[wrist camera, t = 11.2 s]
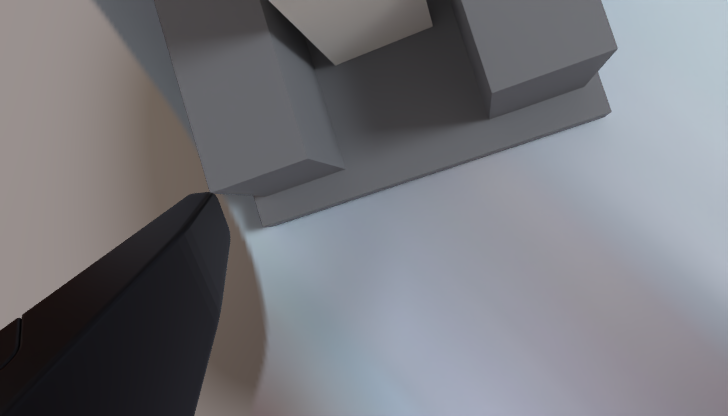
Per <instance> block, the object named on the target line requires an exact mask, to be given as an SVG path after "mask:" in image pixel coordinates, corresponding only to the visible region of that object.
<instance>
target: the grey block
mask: <svg viewBox="0 0 728 416" xmlns="http://www.w3.org/2000/svg"><path fill="white" fill-rule="evenodd" d="M269 1H270V2H271V3H272V4H273V5H274V6H275V7H276V8H277V9H278V10H279V11H280V12H281V13H282V14H283V15H284V16H285V17H286V18H287V19H288V20H289V21H290V22H291V23H292V24H293V25H294V26H295V27H296V28H297V29H298V30H299V31H301V32H302V33H303V34H304V35H305V36H306V37H307V38H308V39H309V40H310V41H311V42H312V43H313V44H314V45H315V46H316V47H317V48H318V49H319V50H320V51H321V52H322V53H323V54H324V55H325V56H326V57H327V58H328V59H329V60H330V61H331V62H332V63H333V64H334V65H338V64H340V63H343V62H345V61H348V60H350V59H353V58H355V57H358V56H360V55H363V54H365V53H368V52H370V51H373V50H375V49H378V48H380V47H383V46H385V45H388V44H390V43H393V42H395V41H398V40H400V39H403V38H405V37H408V36H410V35H413V34H415V33H418V32H420V31H423V30H425V29H428V28H430V27H433V25H432V21H431V17H430V13H429V9H428V6H427V2H426V0H269Z"/></svg>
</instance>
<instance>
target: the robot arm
mask: <svg viewBox="0 0 728 416" xmlns="http://www.w3.org/2000/svg"><path fill="white" fill-rule="evenodd" d="M229 247H230V231H229V227H228V225H227V222H226V219H225V217H224V214H223V211H222V209H221V206H220V203H219V201H218V198H217V197H216V195H215V194H213V193H212V192H205V193H195V194H190V195H188V196H187V197H185V198H184V199H183V200H181V201H180V202H178V203H177V204H176V205H174V206H173V207H172V208H170V209H169V210H167V211H166V212H164V213H163V214H162V215H160V216H159V217H157V218H156V219H155V220H153V221H152V222H150V223H149V224H148V225H146V226H145V227H144V228H142V229H141V230H140V231H138V232H137V233H135V234H134V235H132V236H131V237H130V238H128V239H127V240H125V241H124V242H123V243H121V244H120V245H119V246H117V247H116V248H115V249H113V250H112V251H110V252H109V253H107V254H106V255H105V256H103V257H102V258H100V259H99V260H98V261H96V262H95V263H93V264H92V265H91V266H90V267H88V268H87V269H85V270H84V271H82V272H81V273H80V274H78V275H77V276H75V277H74V278H73V279H71V280H70V281H68V282H67V283H66V284H64V285H63V286H62V287H60V288H59V289H57V290H56V291H55V292H53V293H52V294H51V295H49V296H48V297H46V298H45V299H44V300H42V301H41V302H39V303H38V304H36V305H35V306H34V307H33V308H31V309H30V310H28V311H27V312H25V313H24V314H23V315H22V319H21V318H17V319H15V320H14V321H13V322H11V323H10V324H8V325H7V326H6V327H5V328H3V329H2V330H0V416H194V414H195V410H196V407H197V402H198V399H199V395H200V391H201V387H202V383H203V379H204V376H205V372H206V368H207V364H208V360H209V357H210V353H211V349H212V345H213V341H214V337H215V334H216V330H217V326H218V322H219V317H220V312H221V306H222V299H223V292H224V285H225V276H226V270H227V269H226V268H227V262H228V254H229Z"/></svg>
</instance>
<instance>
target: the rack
mask: <svg viewBox="0 0 728 416" xmlns="http://www.w3.org/2000/svg"><path fill="white" fill-rule="evenodd" d="M154 2H155V6H156V9H157V13H158V16H159V20H160V23H161V26H162V30H163V33H164V37H165V40H166V44H167V47H168V50H169V54H170V57H171V61H172V64H173V68H174V71H175V75H176V78H177V81H178V85H179V88H180V92H181V95H182V99H183V102H184V105H185V109H186V112H187V116H188V119H189V123H190V126H191V129H192V133H193V136H194V140H195V143H196V147H197V150H198V153H199V157H200V160H201V164H202V167H203V171H204V174H205V177H206V181H207V184H208V188H209V191H210V192H212V193H214V194H235V195H254V199H255V202H256V206H257V209H258V212H259V216H260V219H261V222H262V226H263V227H271V226H276V225H279V224H282V223H285V222H288V221H291V220H294V219H297V218H300V217H303V216H306V215H309V214H312V213H315V212H318V211H321V210H324V209H327V208H330V207H334V206H337V205H340V204H343V203H346V202H349V201H352V200H355V199H358V198H361V197H364V196H367V195H370V194H373V193H376V192H379V191H382V190H385V189H388V188H391V187H394V186H397V185H400V184H403V183H406V182H409V181H412V180H415V179H418V178H421V177H424V176H427V175H430V174H433V173H436V172H440V171H443V170H446V169H449V168H452V167H455V166H458V165H461V164H464V163H467V162H470V161H473V160H476V159H479V158H482V157H485V156H488V155H491V154H494V153H497V152H500V151H503V150H506V149H509V148H512V147H515V146H518V145H521V144H524V143H527V142H530V141H533V140H536V139H539V138H542V137H545V136H549V135H552V134H555V133H558V132H561V131H564V130H567V129H570V128H573V127H576V126H579V125H582V124H585V123H588V122H591V121H594V120H597V119H600V118H603V117H605V116H606V115H608V114H609V113H610V112H611V109H610V106H609V103H608V100H607V97H606V94H605V91H604V89H603V86H602V83H601V80H600V77H599V74H598V71H599V69H600V68H601V67H602V66H603V65H604V64H605V63H606V61H607V60H608V59H609V58H610V57H611V56H612V55H613V53H614V52H615V51H616V50H617V49H618V48H617V45H616V42H615V39H614V36H613V33H612V31H611V28H610V25H609V22H608V19H607V16H606V13H605V11H604V8H603V5H602V2H601V0H426V2H427V6H428V9H429V13H430V17H431V21H432V25H433V27H430V28H428V29H425V30H423V31H420V32H418V33H415V34H413V35H410V36H408V37H405V38H403V39H400V40H398V41H395V42H393V43H390V44H388V45H385V46H383V47H380V48H378V49H375V50H373V51H370V52H368V53H365V54H363V55H360V56H358V57H355V58H353V59H350V60H348V61H345V62H343V63H340V64H338V65H334V64H333V63H332V62H331V61H330V60H329V59H328V58H327V57H326V56H325V55H324V54H323V53H322V52H321V51H320V50H319V49H318V48H317V47H316V46H315V45H314V44H313V43H312V42H311V41H310V40H309V39H308V38H307V37H306V36H305V35H304V34H303V33H302V32H301V31H299V30H298V29H297V28H296V27H295V26H294V25H293V24H292V23H291V22H290V21H289V20H288V19H287V18H286V17H285V16H284V15H283V14H282V13H281V12H280V11H279V10H278V9H277V8H276V7H275V6H274V5H273V4H272V3H271V2H270V1H269V0H154Z"/></svg>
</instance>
